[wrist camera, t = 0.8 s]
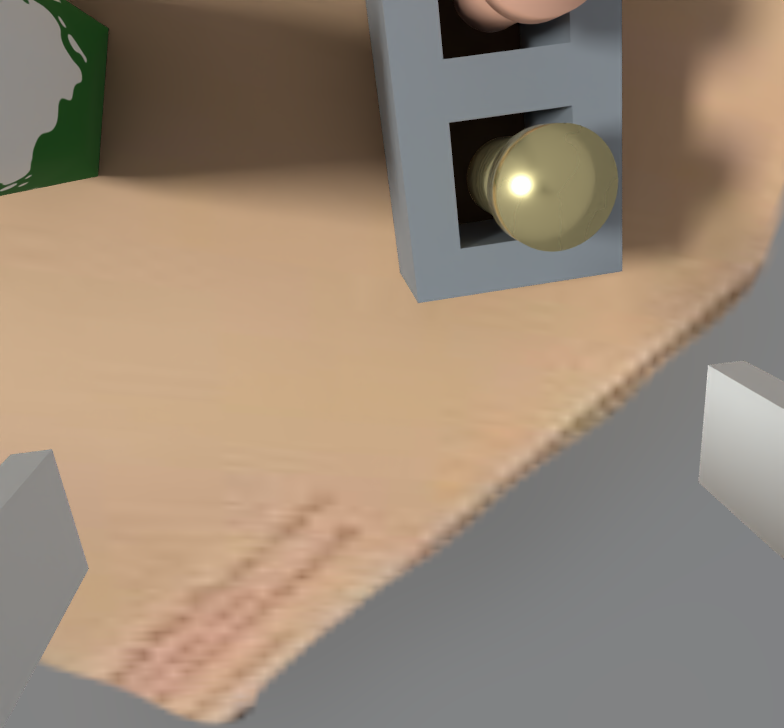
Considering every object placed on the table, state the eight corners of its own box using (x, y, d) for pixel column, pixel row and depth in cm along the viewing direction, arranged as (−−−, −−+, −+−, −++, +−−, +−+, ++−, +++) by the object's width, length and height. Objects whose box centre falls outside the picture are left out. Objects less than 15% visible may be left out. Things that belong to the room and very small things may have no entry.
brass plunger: (452, 132, 29) (492, 132, 23) (548, 118, 30) (617, 114, 23) (460, 231, 31) (501, 259, 24) (552, 218, 31) (618, 242, 24)
